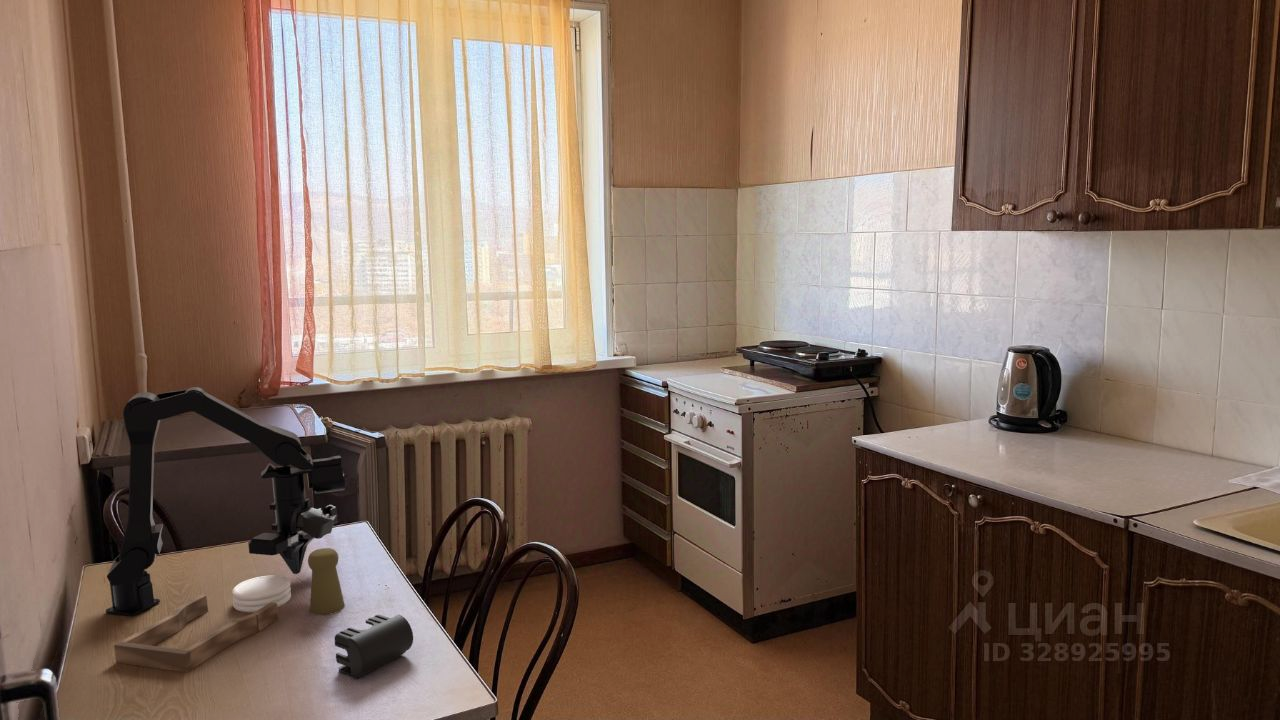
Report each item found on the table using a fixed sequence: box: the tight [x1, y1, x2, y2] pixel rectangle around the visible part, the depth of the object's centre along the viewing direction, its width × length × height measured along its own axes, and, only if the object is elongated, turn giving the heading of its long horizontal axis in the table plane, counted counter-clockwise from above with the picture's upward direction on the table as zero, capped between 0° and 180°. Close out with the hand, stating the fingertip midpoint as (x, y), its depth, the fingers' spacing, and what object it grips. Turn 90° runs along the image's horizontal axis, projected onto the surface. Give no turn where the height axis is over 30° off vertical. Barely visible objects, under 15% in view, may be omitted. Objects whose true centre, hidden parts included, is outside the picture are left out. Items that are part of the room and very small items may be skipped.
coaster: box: [231, 574, 292, 613], centre depth 166 cm, size 10×10×4 cm
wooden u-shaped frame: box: [113, 594, 279, 673], centre depth 150 cm, size 20×16×3 cm
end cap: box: [334, 614, 414, 679], centre depth 139 cm, size 10×7×7 cm
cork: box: [307, 547, 346, 616], centre depth 161 cm, size 6×6×11 cm
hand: (296, 573), depth 175 cm, fingers closed
